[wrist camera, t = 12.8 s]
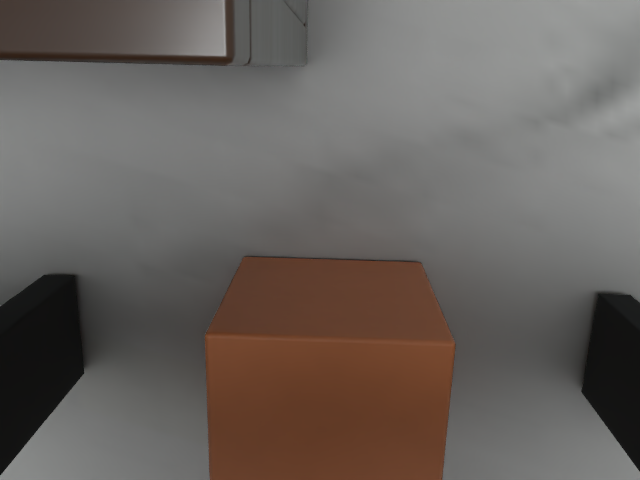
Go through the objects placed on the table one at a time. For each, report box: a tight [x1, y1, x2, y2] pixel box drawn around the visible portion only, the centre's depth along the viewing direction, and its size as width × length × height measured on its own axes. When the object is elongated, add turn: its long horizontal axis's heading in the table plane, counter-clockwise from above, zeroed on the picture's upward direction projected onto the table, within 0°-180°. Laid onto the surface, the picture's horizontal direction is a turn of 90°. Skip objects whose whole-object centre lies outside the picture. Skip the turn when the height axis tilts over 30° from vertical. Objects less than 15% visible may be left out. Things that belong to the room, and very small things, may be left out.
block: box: [205, 257, 456, 480], centre depth 13 cm, size 4×4×4 cm
